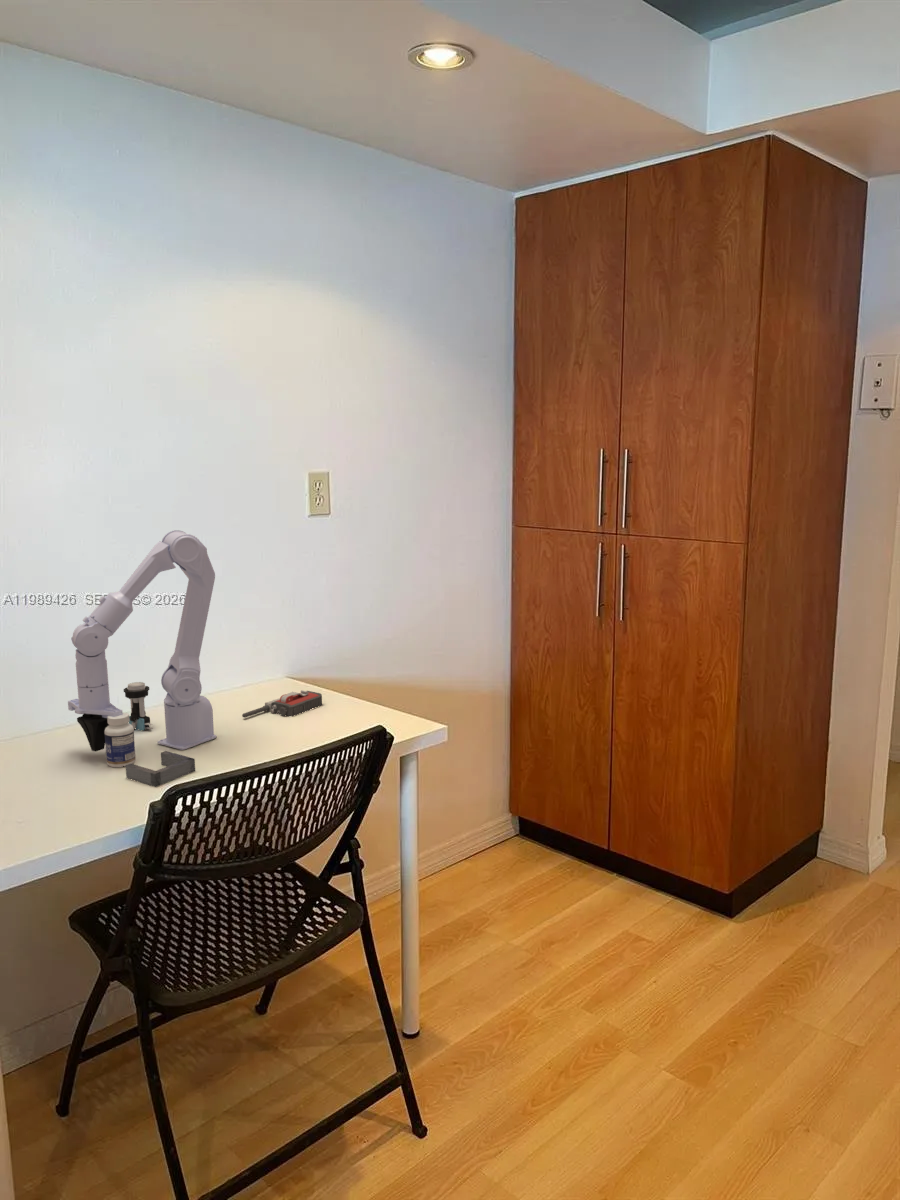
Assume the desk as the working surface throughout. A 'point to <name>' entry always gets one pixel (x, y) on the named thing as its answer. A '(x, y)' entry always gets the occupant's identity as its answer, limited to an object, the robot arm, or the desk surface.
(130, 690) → the push button
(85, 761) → the desk surface
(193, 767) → the docking socket
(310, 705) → the walkie-talkie
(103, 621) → the robot arm
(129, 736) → the pill bottle
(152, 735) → the desk surface
